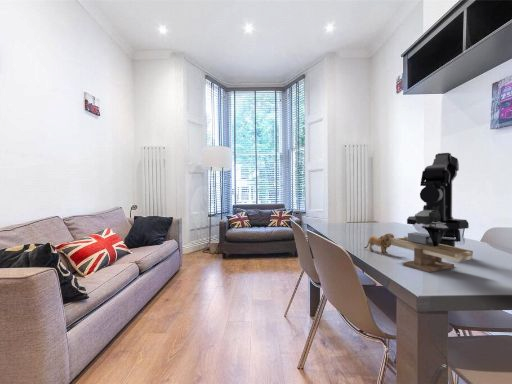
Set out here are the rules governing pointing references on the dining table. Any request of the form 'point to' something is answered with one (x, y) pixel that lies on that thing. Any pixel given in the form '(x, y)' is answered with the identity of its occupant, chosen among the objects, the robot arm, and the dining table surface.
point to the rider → (420, 239)
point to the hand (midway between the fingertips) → (435, 246)
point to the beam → (435, 250)
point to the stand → (427, 262)
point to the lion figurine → (381, 242)
